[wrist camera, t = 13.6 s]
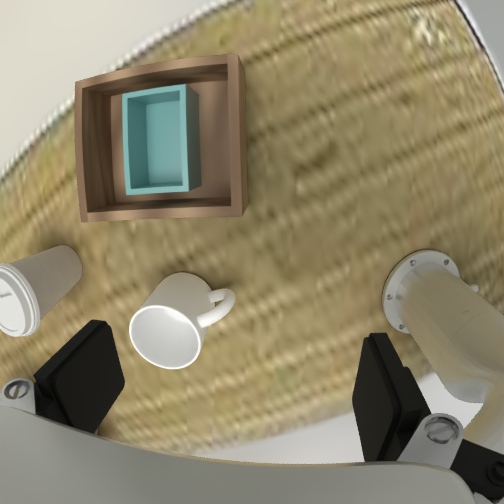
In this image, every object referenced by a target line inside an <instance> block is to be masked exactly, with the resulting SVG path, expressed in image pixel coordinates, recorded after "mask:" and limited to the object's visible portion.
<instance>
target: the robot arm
mask: <svg viewBox="0 0 504 504" xmlns="http://www.w3.org/2000/svg"><path fill="white" fill-rule="evenodd" d="M411 260H412V261H411ZM410 261H411V262H410ZM478 289H479V288H478V285H477V284H470V285H468V284H466V283H465V282H464V281H463V280H461V279H460V275H459V271H458V268H457V266H456V264H455V263H454V262H453V261H452V259H451V258H450V257H448V256H447V255H445V254H444V253H442V252H440V251H436V250H422V251H417V252H415V253H413V254H410V255H409V256H407V257H406V258H404V259H403V260H402V261H401V262H400V263H399V264H397V265H396V267H395V268H394V269H393V270H392V272H391V273H390V275H389V277H388V279H387V280H386V283H385V286H384V289H383V294H382V307H383V312H384V314H385V316H386V318H387V320H388V321H389V323H390V324H391V325H392V326H393V327H394V328H395V329H396V330H398V331H400V332H403V333H406V334H411V336H412V337H413V338H414V340H415V341H416V343H417V344H418V346H419V348H420V349H421V351H422V352H423V354H424V355H425V357H426V358H427V360H428V361H429V363H430V364H431V366H432V368H433V369H434V371H435V372H436V374H437V375H438V377H439V378H440V380H441V382H442V383H443V385H444V386H445V388H446V389H447V390H448V392H449V393H450V394H451V395H452V396H454V397H455V398H457V399H459V400H462V401H465V402H470V403H483V406H482V408H481V409H480V411H479V412H478V413H477V414H476V415H475V417H474V418H473V419H472V420H471V422H470V423H469V424H468V425H467V426H466V427H465V428H464V429H463V426H462V424H461V423H460V421H458V420H457V419H456V418H455V417H453V416H451V415H448V414H444V413H436V414H431V411H430V409H429V407H428V405H427V403H426V401H425V399H424V397H423V395H422V393H421V391H420V389H419V387H418V385H417V383H416V381H415V379H414V377H413V375H412V373H411V371H410V369H409V368H408V367H404V366H403V364H402V362H401V360H400V358H399V356H398V354H397V352H396V351H395V349H394V347H393V345H392V343H391V341H390V339H389V337H388V335H387V334H386V333H370V335H369V337H365V338H364V341H363V346H362V352H361V357H360V362H359V367H358V372H357V377H356V382H355V386H354V391H353V396H352V403H353V408H354V413H355V417H356V422H357V426H358V431H359V436H360V440H361V446H362V451H363V456H364V460H365V462H356V463H336V464H271V463H253V462H239V461H228V460H219V459H211V458H203V457H196V456H189V455H183V454H177V453H171V452H166V451H161V450H156V449H151V448H146V447H142V446H137V445H133V444H129V443H125V442H121V441H117V440H113V439H110V438H106V437H102V436H99V435H95V434H94V433H95V431H96V430H97V428H98V427H99V425H100V424H101V422H102V420H103V419H104V417H105V416H106V414H107V413H108V411H109V410H110V408H111V407H112V405H113V403H114V402H115V400H116V399H117V397H118V396H119V394H120V393H121V391H122V390H123V388H124V385H125V380H124V376H123V372H122V369H121V365H120V361H119V358H118V354H117V350H116V346H115V342H114V338H113V333H112V329H111V327H110V326H109V325H108V324H107V322H106V321H101V320H91V321H90V322H88V323H87V324H86V325H85V326H84V327H83V328H82V329H81V330H80V331H79V332H78V333H77V334H76V335H74V336H73V337H72V338H71V339H70V340H69V341H68V342H67V343H66V344H65V345H64V346H63V347H62V348H61V349H60V350H59V351H58V352H57V353H55V354H54V355H53V356H52V357H51V358H50V359H49V360H48V361H47V362H46V363H45V364H44V365H43V366H42V367H41V368H40V369H39V370H38V371H37V372H36V373H35V374H34V377H35V380H36V382H35V383H34V384H33V382H32V381H31V380H29V379H27V378H16V379H13V380H11V381H9V382H7V383H6V384H5V385H4V386H3V388H2V389H1V393H0V504H504V315H503V314H501V313H500V312H499V311H498V310H497V309H496V308H494V307H493V306H492V305H491V304H490V303H488V302H487V301H486V300H485V299H484V298H482V297H481V296H480V295H479V294H478Z"/></svg>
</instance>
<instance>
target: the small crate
mask: <svg viewBox="0 0 504 504" xmlns="http://www.w3.org/2000/svg"><path fill="white" fill-rule="evenodd" d="M122 121H123V154H124V172H125V187H126V195H136V194H150V193H166V192H185V191H191V190H193V189H195V188H197V187H200V186H202V181H201V157H200V125H199V94H198V93H196V92H195V91H194V90H193V89H191V88H190V87H189V86H187V85H186V84H182V85H174V86H167V87H160V88H153V89H147V90H141V91H136V92H130V93H125V94H122Z"/></svg>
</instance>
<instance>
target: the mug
mask: <svg viewBox="0 0 504 504" xmlns="http://www.w3.org/2000/svg"><path fill="white" fill-rule="evenodd" d="M220 300H223V301H222V302H221V303H220V304H218V305H217V306H216V307H215V302H217V301H220ZM235 300H236V297H235V293H234V292H233V291H232V290H230V289H218V290H214V291H212V290H211V288H210V287H209V286H208V284H207V283H206V282H205V281H204V280H202V279H201V278H199V277H198V276H196V275H193V274H190V273H175V274H172V275H169V276H168V277H166V278H165V279H164V280H162V281H161V282H160V284H159V285H158V286H157V287H156V288H155V290H154V291H153V292H152V293H151V295H150V296H149V297H148V298H147V299H146V301H145V302H144V303H143V304H142V306H141V307H140V308H139V309H138V311H137V312H136V313H135V314H134V316H133V317H132V319H131V322H130V326H129V334H130V338H131V341H132V344H133V345H134V347H135V349H136V350H137V351H138V353H139V354H140V355H141V356H142V357H143V358H145V359H146V360H147V361H149V362H150V363H152V364H154V365H156V366H159V367H162V368H167V369H179V368H183V367H186V366H188V365H190V364H191V363H193V362H194V361H195V360H196V358H197V357H198V355H199V353H200V350H201V347H202V344H203V342H204V339H205V336H206V333H207V330H208V328H209V325H211V324H213V323H215V322H217V321H218V320H220V319H221V318H223V317H224V316H225V315H226V314H227V313H228V312H229V311H230V310H231V309H232V307H233V306H234V304H235Z"/></svg>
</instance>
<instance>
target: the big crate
mask: <svg viewBox="0 0 504 504" xmlns="http://www.w3.org/2000/svg"><path fill="white" fill-rule="evenodd" d="M182 84H186V85H187V86H189V87H190V88H191V89H193V90H194V91H195V92H196V93H198V94H199V125H200V157H201V181H202V186H200V187H197V188H195V189H193V190H191V191H185V192H166V193H150V194H136V195H126V187H125V172H124V154H123V121H122V94H125V93H130V92H136V91H141V90H147V89H153V88H160V87H167V86H174V85H182ZM75 155H76V172H77V185H78V196H79V206H80V215H81V222H96V221H115V220H136V219H161V218H192V217H237V216H243V214H244V212H245V210H246V208H247V205H248V175H247V136H246V97H245V72H244V69H243V67H242V64H241V61H240V58H239V55H238V54H224V55H212V56H202V57H193V58H185V59H178V60H171V61H165V62H159V63H153V64H147V65H142V66H137V67H132V68H128V69H123V70H119V71H114V72H110V73H106V74H102V75H98V76H94V77H91V78H87V79H84V80H80V81H77V82H75Z"/></svg>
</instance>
